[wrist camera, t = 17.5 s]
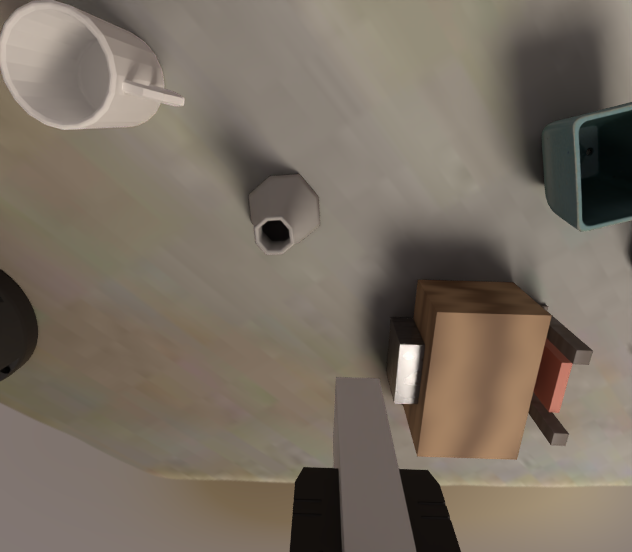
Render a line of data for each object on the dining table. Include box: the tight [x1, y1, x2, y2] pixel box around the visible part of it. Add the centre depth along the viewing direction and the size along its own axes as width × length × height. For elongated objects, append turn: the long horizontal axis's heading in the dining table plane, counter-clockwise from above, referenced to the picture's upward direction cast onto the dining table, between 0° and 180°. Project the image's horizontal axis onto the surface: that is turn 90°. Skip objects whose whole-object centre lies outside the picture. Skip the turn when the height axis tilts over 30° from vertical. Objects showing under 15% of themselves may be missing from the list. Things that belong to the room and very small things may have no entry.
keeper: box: [533, 338, 572, 413], centre depth 43 cm, size 1×6×6 cm, turn 179°
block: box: [403, 280, 593, 459], centre depth 43 cm, size 14×16×9 cm
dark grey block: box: [386, 317, 425, 404], centre depth 45 cm, size 12×7×6 cm, turn 89°
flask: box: [249, 174, 320, 255], centre depth 38 cm, size 7×7×10 cm
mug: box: [0, 0, 185, 130], centre depth 34 cm, size 8×12×10 cm, turn 75°
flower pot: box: [542, 102, 632, 232], centre depth 36 cm, size 9×9×9 cm
